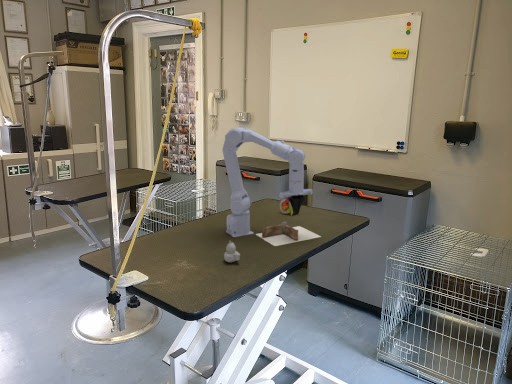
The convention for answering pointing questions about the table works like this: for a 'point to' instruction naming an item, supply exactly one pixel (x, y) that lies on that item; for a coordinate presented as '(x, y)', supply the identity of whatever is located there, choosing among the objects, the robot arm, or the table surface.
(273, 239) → the card
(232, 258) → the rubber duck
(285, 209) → the bird rattle
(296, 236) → the brown wooden bar
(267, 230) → the fixed fence section
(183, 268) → the table surface
